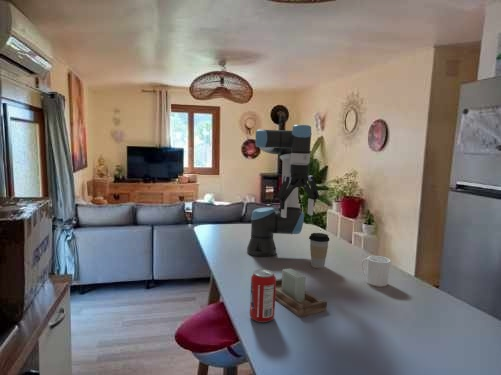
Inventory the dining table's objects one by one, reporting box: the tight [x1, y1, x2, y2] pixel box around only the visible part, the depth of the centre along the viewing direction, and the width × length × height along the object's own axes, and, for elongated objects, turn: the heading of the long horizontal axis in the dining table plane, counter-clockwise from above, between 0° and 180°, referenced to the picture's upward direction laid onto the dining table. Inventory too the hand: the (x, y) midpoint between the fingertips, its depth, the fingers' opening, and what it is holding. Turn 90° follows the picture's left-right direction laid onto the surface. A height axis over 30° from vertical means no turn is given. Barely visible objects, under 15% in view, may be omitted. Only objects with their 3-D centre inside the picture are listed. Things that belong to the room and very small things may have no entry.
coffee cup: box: [308, 232, 330, 269], centre depth 160 cm, size 9×9×15 cm
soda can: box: [249, 268, 277, 323], centre depth 108 cm, size 8×8×15 cm
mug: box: [361, 255, 391, 288], centre depth 142 cm, size 11×9×10 cm
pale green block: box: [281, 268, 306, 302], centre depth 123 cm, size 9×4×9 cm, turn 30°
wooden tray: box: [275, 277, 328, 318], centre depth 124 cm, size 24×11×3 cm, turn 30°
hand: (297, 215), depth 141 cm, fingers open, 13 cm apart
